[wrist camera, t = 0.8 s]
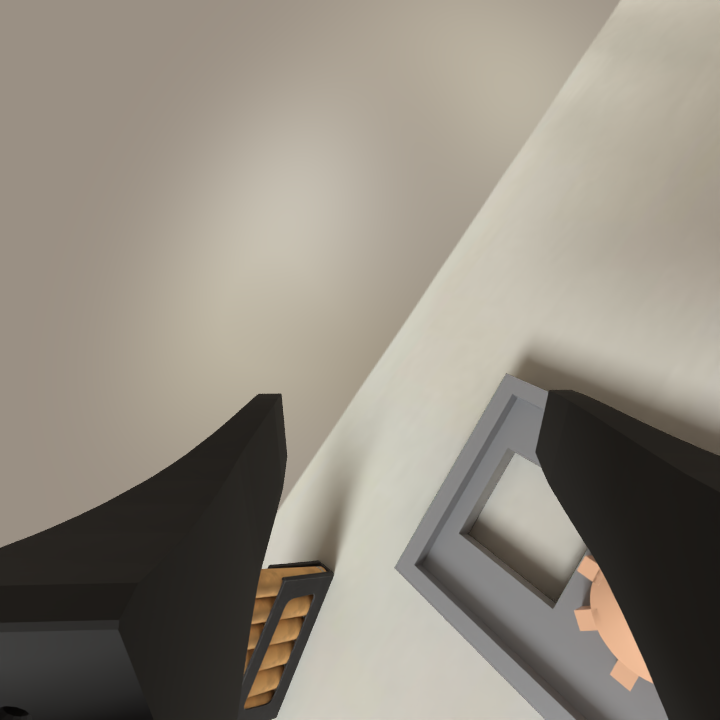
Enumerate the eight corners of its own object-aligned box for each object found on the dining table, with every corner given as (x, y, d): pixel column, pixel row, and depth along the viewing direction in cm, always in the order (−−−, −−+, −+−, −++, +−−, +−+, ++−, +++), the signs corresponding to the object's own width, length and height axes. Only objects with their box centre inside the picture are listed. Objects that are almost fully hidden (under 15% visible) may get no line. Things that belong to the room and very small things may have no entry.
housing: (869, 543, 17) (903, 542, 14) (701, 842, 17) (704, 895, 14) (517, 385, 28) (500, 368, 25) (413, 566, 28) (385, 568, 25)
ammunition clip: (318, 559, 32) (179, 563, 23) (334, 573, 31) (194, 581, 22) (261, 699, 31) (91, 758, 22) (275, 718, 30) (101, 790, 21)
